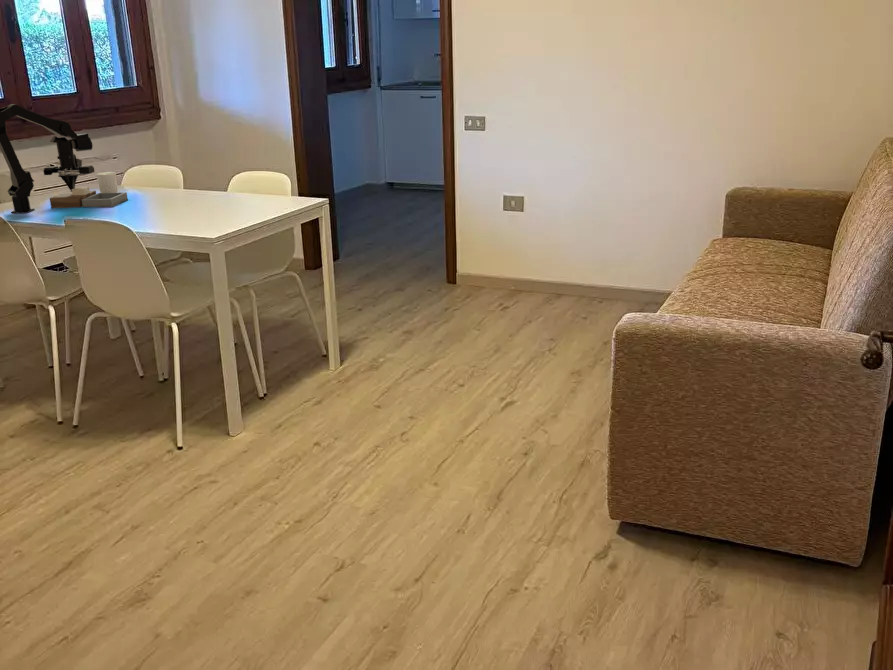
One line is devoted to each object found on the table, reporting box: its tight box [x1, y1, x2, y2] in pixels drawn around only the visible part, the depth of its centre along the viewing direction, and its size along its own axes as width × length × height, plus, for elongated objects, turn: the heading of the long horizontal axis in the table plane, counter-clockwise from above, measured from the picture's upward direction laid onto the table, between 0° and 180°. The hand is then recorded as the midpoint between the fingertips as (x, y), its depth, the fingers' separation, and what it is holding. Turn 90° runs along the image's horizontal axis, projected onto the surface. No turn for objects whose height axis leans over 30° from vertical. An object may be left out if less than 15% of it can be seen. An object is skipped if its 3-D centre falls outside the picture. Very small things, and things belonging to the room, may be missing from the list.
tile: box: [72, 186, 91, 195], centre depth 340 cm, size 5×5×2 cm
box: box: [82, 191, 128, 208], centre depth 341 cm, size 16×12×3 cm
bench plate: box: [49, 190, 97, 209], centre depth 341 cm, size 16×12×4 cm
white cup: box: [96, 171, 119, 193], centre depth 355 cm, size 8×8×10 cm
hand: (72, 191), depth 340 cm, fingers closed
